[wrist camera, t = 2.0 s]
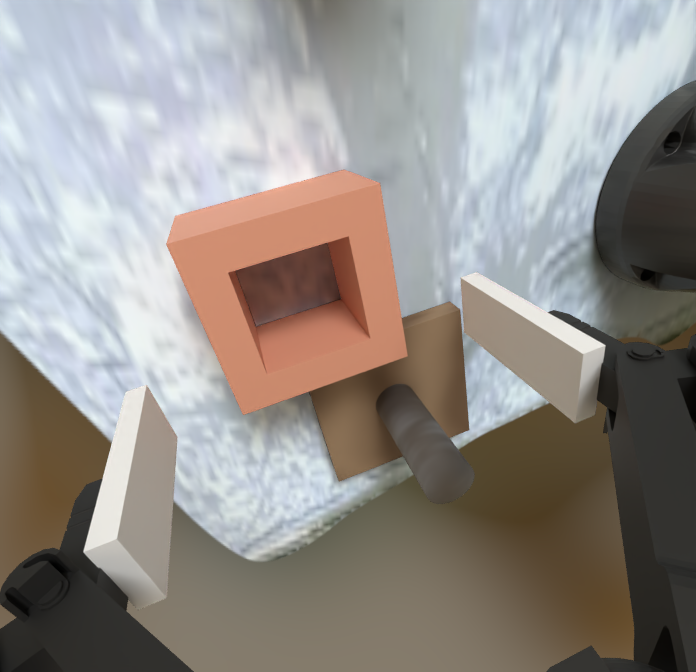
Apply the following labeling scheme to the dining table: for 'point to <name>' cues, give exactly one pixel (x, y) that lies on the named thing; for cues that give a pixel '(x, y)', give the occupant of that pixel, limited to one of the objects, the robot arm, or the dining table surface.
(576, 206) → the dining table surface
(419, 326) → the post stand
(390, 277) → the collar
